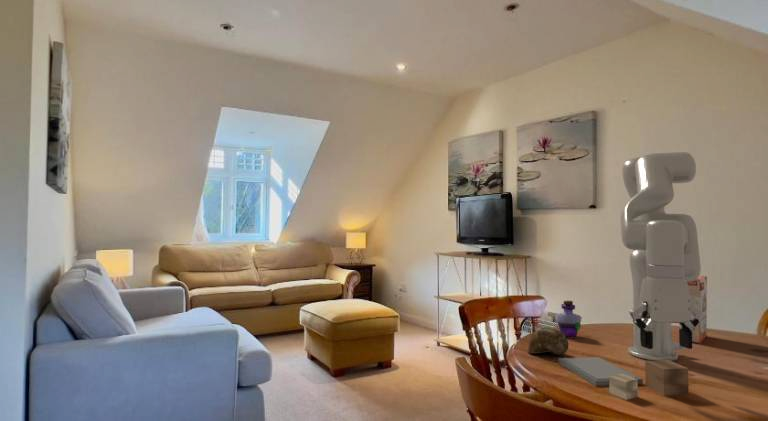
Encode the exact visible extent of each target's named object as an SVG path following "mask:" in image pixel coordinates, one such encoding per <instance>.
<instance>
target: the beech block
mask: <svg viewBox="0 0 768 421" xmlns="http://www.w3.org/2000/svg"><path fill="white" fill-rule="evenodd" d="M638 385H639V384H638V381H637V379H635V378H632V377H629V376H626V375H623V374H618V375H613V376H609V385H608V387H609V395H612V396H615V397H617V398H620V399H622V400H625V401H627V400H632V399H635V398H638V396H639V395H638V392H639V390H638Z"/></svg>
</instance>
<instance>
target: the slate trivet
mask: <svg viewBox="0 0 768 421" xmlns="http://www.w3.org/2000/svg"><path fill="white" fill-rule="evenodd" d="M557 359H558V363H559V364H560V365H561V366H563V367H565V368H566V369H568V370H570V371H571V372H573V373H575V374H576V375H577V376H579V377H581V378H582V379H584V380H585V381H587V382H589V383H590V384H592V385H594V386H595V387H597V386H598V387H600V386H601V387H602V386H603V387H604V386H605V387H606V386H609V376H613V375H618V374H623V375H626V376H629V377H632V378H635V379H637V381H638V385H644V380H643V378H641V377H639V376H638V375H637V376H636V375H635V374H633V373H632V372H630V371H627V370H625V369H624V368H622V367H620V366H618V365H616V364H614V363H612V362H610V361H608V360H606V359H603V358H602V357H600V356H588V357H587V356H585V357H558V358H557Z"/></svg>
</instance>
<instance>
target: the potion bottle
mask: <svg viewBox="0 0 768 421" xmlns="http://www.w3.org/2000/svg"><path fill="white" fill-rule="evenodd" d="M573 303H574V301H572V300H563V302H562V304H561V309H562V310H563V312H560V313H556V314H555V320H556V324H557V325H558V330H559V331H561V332H562V333H563V334H564V335H565V336H566V337H576V336H577V337H578V333H579V330H580V329H581V326H582V325H581V324H582V323H581V322H582V318H583V317H582V316H581V315H579V314H577V313H575V312H574V310H576V305H575V304H573ZM577 337H576V338H577Z"/></svg>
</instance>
